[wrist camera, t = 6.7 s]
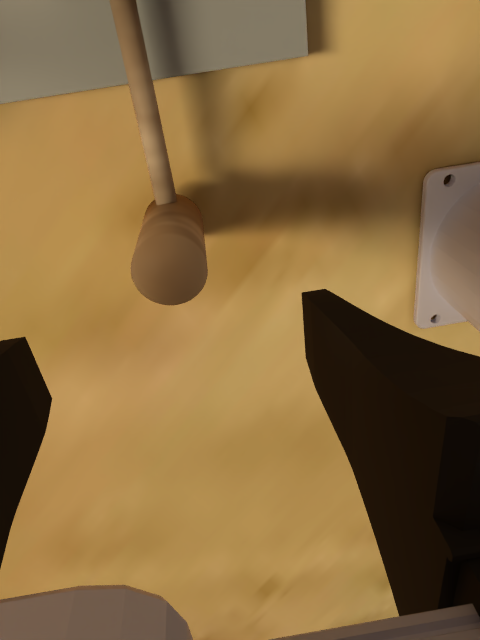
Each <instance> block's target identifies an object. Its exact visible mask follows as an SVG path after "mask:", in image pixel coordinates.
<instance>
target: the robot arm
mask: <svg viewBox="0 0 480 640" xmlns="http://www.w3.org/2000/svg"><path fill="white" fill-rule="evenodd" d="M447 175H451V179H450V181H449V182H448V183H447V184H445V185H444V182H443V181H444V178H445V177H446V176H447ZM302 305H303V321H304V336H305V352H306V359H307V363H308V366H309V369H310V373H311V376H312V379H313V382H314V385H315V388H316V390H317V393H318V395H319V397H320V399H321V401H322V404H323V406H324V408H325V410H326V412H327V414H328V416H329V419H330V421H331V423H332V425H333V427H334V429H335V431H336V433H337V436H338V438H339V440H340V442H341V444H342V446H343V448H344V450H345V453H346V455H347V457H348V460H349V462H350V464H351V467H352V469H353V472H354V475H355V478H356V481H357V484H358V487H359V490H360V493H361V496H362V498H363V501H364V504H365V507H366V510H367V513H368V517H369V520H370V523H371V526H372V529H373V532H374V535H375V538H376V541H377V544H378V547H379V551H380V554H381V557H382V560H383V564H384V567H385V570H386V573H387V576H388V580H389V583H390V586H391V589H392V593H393V596H394V600H395V603H396V606H397V610H398V613H399V617H393V618H388V619H382V620H377V621H371V622H365V623H360V624H354V625H349V626H343V627H338V628H332V629H326V630H321V631H315V632H310V633H304V634H298V635H293V636H287V637H282V638H276V639H270V640H480V357H479V356H475V355H472V354H468V353H464V352H461V351H457V350H454V349H451V348H447V347H444V346H441V345H438V344H436V343H433V342H430V341H427V340H425V339H422V338H419V337H417V336H414V335H412V334H409V333H407V332H405V331H402V330H400V329H398V328H396V327H394V326H392V325H390V324H388V323H385V322H383V321H382V320H380V319H378V318H376V317H374V316H372V315H370V314H368V313H366V312H365V311H363V310H361V309H359V308H358V307H356V306H354V305H352V304H351V303H349V302H347V301H346V300H344V299H342V298H340V297H339V296H337V295H335V294H334V293H332V292H330V291H328V290H326V289H322V290H315V291H309V292H303V293H302ZM436 314H437V316H436V317H435V318H434V319H432V320H431V317H433V316H434V315H436ZM466 321H468V322H470V323H471V324H472V325H473V326H474V327H475V328H476V329H477V330H478V331H479V332H480V162H475V163H469V164H463V165H457V166H451V167H445V168H438V169H434V170H431V171H430V172H429V173H427V175H426V176H425V178H424V181H423V193H422V207H421V221H420V235H419V250H418V264H417V278H416V292H415V306H414V322H415V324H416V325H417V326H418V327H419V328H430V327H436V326H442V325H448V324H454V323H460V322H466ZM51 402H52V397H51V395H50V393H49V390H48V388H47V386H46V384H45V381H44V379H43V377H42V374H41V372H40V370H39V367H38V365H37V363H36V361H35V358H34V356H33V354H32V351H31V349H30V347H29V345H28V342H27V340H26V338H25V337H21V338H15V339H9V340H3V341H0V568H1V564H2V560H3V556H4V552H5V548H6V544H7V540H8V536H9V532H10V528H11V525H12V522H13V519H14V516H15V513H16V510H17V507H18V504H19V502H20V499H21V496H22V494H23V491H24V489H25V486H26V483H27V481H28V478H29V475H30V473H31V470H32V467H33V465H34V462H35V460H36V457H37V454H38V451H39V449H40V446H41V443H42V440H43V437H44V435H45V431H46V427H47V423H48V418H49V413H50V407H51ZM0 640H193V638H192V635H191V633H190V630H189V627H188V624H187V622H186V621H185V620H184V619H183V618H182V617H181V616H180V615H179V614H178V613H177V612H176V611H175V610H174V608H173V607H172V606H171V605H170V604H169V603H168V602H167V601H166V600H165V599H163V598H162V597H161V596H159V595H155V594H152V593H149V592H146V591H143V590H139V589H136V588H133V587H130V586H126V585H96V586H77V587H71V588H65V589H59V590H54V591H48V592H42V593H36V594H31V595H25V596H19V597H14V598H8V599H2V600H0Z"/></svg>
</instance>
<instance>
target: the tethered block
mask: <svg viewBox="0 0 480 640" xmlns="http://www.w3.org/2000/svg"><path fill="white" fill-rule="evenodd" d="M109 1H110V5H111V10H112V14H113V19H114V23H115V27H116V32H117V36H118V40H119V45H120V49H121V53H122V58H123V62H124V66H125V71H126V75H127V79H128V84H129V88H130V92H131V97H132V101H133V105H134V110H135V114H136V118H137V123H138V127H139V131H140V136H141V140H142V144H143V149H144V153H145V157H146V162H147V166H148V171H149V175H150V179H151V184H152V188H153V192H154V197H155V200H154V201H153V202H152V203H151V204H150V205H149V206H148V208H147V210H146V212H145V216H144V219H143V223H142V226H141V230H140V233H139V237H138V240H137V244H136V248H135V251H134V255H133V258H132V262H131V276H132V279H133V282H134V284H135V286H136V288H137V289H138V290H139V291H140V293H141V294H143V295H144V296H145V297H146V298H148V299H149V300H151V301H153V302H156V303H159V304H163V305H178V304H182V303H185V302H187V301H189V300H191V299H193V298H194V297H195V296H196V295H198V293H199V292H200V291H201V290H202V288H203V287H204V285H205V282H206V279H207V271H208V270H207V260H206V250H205V240H204V230H203V220H202V215H201V213H200V210H199V209H198V207H197V206H196V205H195V203H194V202H192V201H191V200H190V199H188V198H187V197H184V196H182V195H178V194H176V193H175V188H174V183H173V178H172V173H171V169H170V164H169V159H168V154H167V149H166V144H165V139H164V135H163V130H162V125H161V120H160V115H159V110H158V105H157V101H156V96H155V91H154V86H153V81H152V76H151V71H150V67H149V62H148V57H147V52H146V47H145V42H144V37H143V33H142V28H141V23H140V18H139V13H138V8H137V3H136V0H109Z"/></svg>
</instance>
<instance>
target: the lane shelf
mask: <svg viewBox="0 0 480 640" xmlns="http://www.w3.org/2000/svg"><path fill="white" fill-rule="evenodd" d="M136 3H137V8H138V13H139V18H140V23H141V28H142V33H143V37H144V42H145V47H146V52H147V57H148V62H149V67H150V71H151V76H152V80H156V79H162V78H169V77H175V76H182V75H188V74H194V73H201V72H207V71H214V70H220V69H226V68H233V67H239V66H246V65H252V64H258V63H265V62H271V61H278V60H284V59H290V58H297V57H303V56H308V42H307V22H306V2H305V0H136ZM124 84H128V79H127V75H126V71H125V66H124V62H123V58H122V53H121V49H120V45H119V40H118V36H117V32H116V27H115V23H114V19H113V14H112V10H111V5H110V1H109V0H0V104H3V103H9V102H15V101H22V100H28V99H35V98H41V97H47V96H54V95H60V94H67V93H73V92H79V91H86V90H92V89H99V88H105V87H111V86H118V85H124Z"/></svg>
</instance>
